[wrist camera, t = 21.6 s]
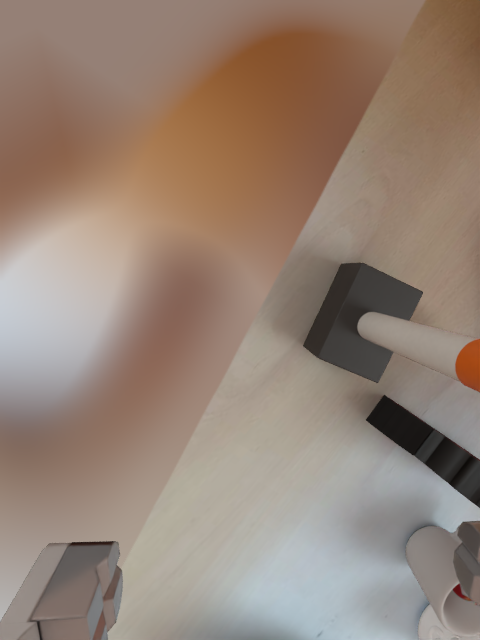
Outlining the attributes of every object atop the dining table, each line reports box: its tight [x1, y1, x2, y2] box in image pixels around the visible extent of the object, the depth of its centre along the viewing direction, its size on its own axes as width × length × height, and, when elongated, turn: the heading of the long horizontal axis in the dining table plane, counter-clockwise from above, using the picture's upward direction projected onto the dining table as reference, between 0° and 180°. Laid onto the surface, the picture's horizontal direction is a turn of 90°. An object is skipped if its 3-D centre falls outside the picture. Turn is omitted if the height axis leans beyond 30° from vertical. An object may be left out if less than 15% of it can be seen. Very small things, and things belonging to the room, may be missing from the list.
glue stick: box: [357, 312, 480, 392], centre depth 25 cm, size 3×3×15 cm
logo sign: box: [366, 395, 480, 508], centre depth 35 cm, size 18×4×11 cm, turn 56°
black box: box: [303, 263, 423, 383], centre depth 35 cm, size 10×7×5 cm
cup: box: [406, 526, 480, 636], centre depth 39 cm, size 11×8×8 cm
